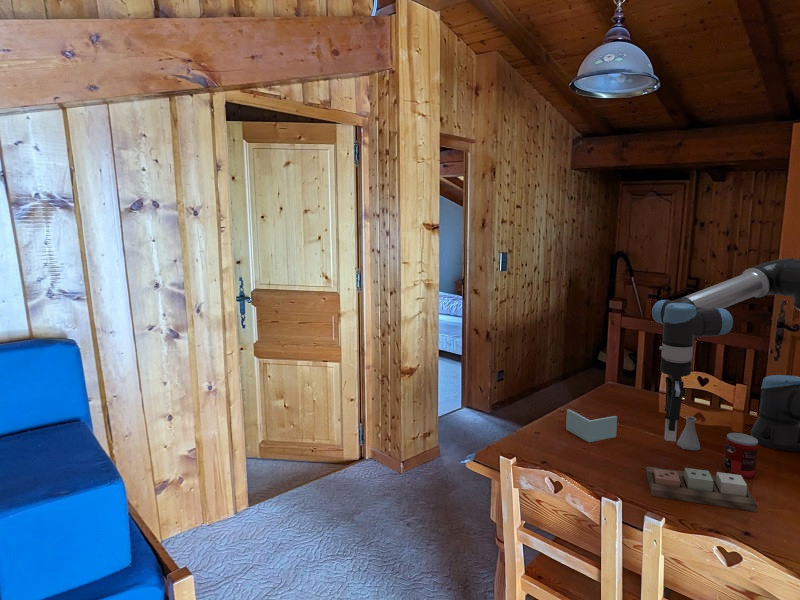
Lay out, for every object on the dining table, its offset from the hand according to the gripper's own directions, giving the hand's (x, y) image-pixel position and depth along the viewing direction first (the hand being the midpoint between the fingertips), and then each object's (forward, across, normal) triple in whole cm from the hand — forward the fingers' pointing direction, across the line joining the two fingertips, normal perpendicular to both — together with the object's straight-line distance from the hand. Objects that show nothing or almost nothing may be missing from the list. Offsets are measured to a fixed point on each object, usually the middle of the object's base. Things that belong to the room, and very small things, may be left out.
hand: (670, 439), depth 147 cm
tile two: (+12, 0, +8) cm, 15 cm away
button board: (+14, 0, +8) cm, 16 cm away
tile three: (+14, 0, 0) cm, 14 cm away
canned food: (+15, -16, +22) cm, 31 cm away
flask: (+15, -31, +11) cm, 36 cm away
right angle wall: (+14, -32, -20) cm, 41 cm away
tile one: (+12, 0, +16) cm, 20 cm away
